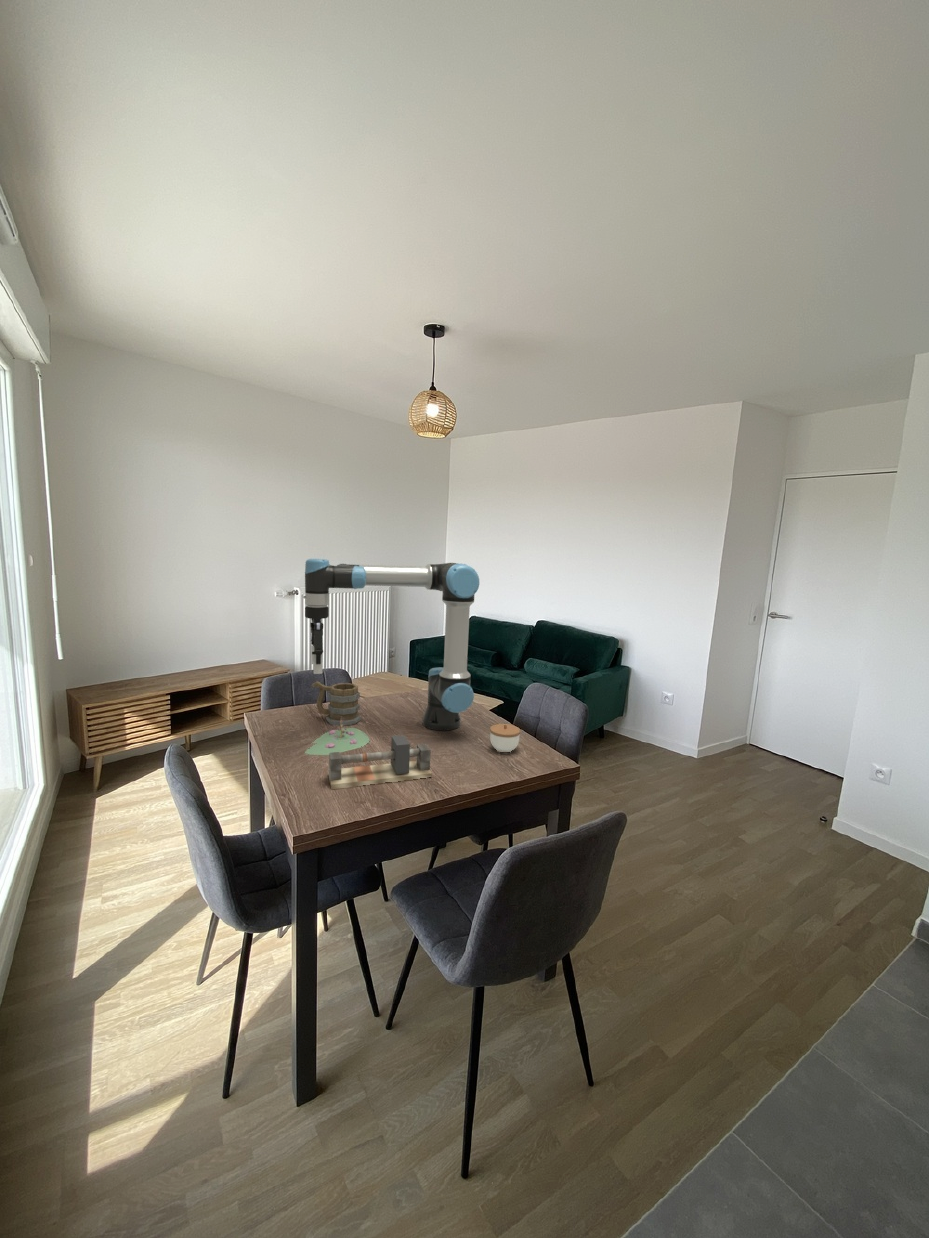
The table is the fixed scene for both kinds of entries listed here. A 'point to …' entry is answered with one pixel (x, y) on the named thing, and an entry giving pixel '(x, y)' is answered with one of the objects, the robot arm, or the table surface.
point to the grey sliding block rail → (376, 768)
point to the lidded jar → (504, 737)
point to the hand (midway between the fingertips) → (316, 668)
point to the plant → (338, 741)
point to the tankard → (340, 703)
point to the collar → (400, 754)
